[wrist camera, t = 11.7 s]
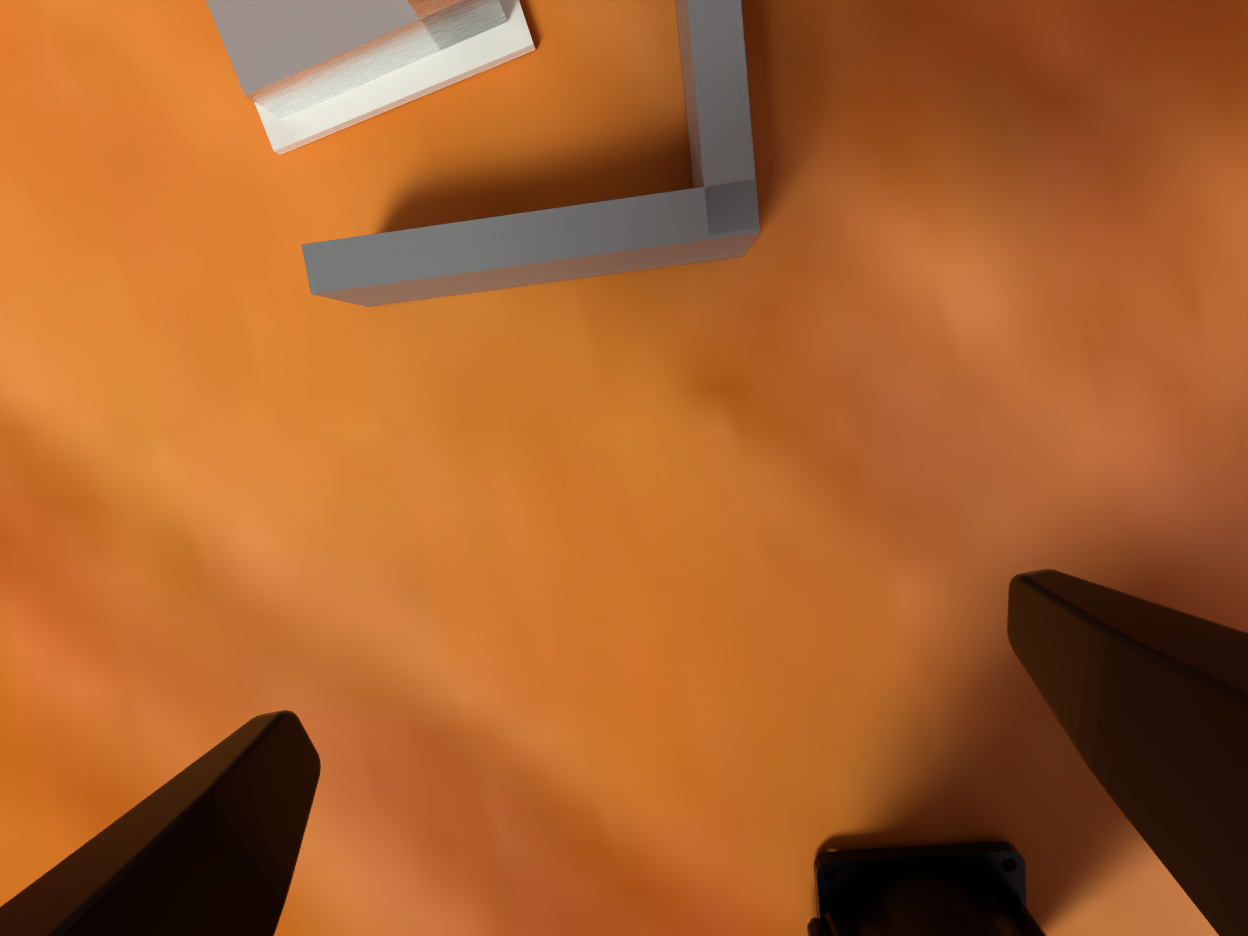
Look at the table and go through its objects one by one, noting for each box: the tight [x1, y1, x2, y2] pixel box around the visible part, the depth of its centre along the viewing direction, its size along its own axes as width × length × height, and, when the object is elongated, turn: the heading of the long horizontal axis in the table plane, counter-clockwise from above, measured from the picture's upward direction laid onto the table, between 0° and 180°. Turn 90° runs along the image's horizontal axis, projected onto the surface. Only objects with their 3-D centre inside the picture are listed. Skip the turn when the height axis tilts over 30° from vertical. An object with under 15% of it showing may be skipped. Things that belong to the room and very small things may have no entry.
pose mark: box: [255, 0, 535, 155], centre depth 17 cm, size 8×6×1 cm
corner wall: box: [302, 0, 760, 307], centre depth 15 cm, size 11×13×3 cm
